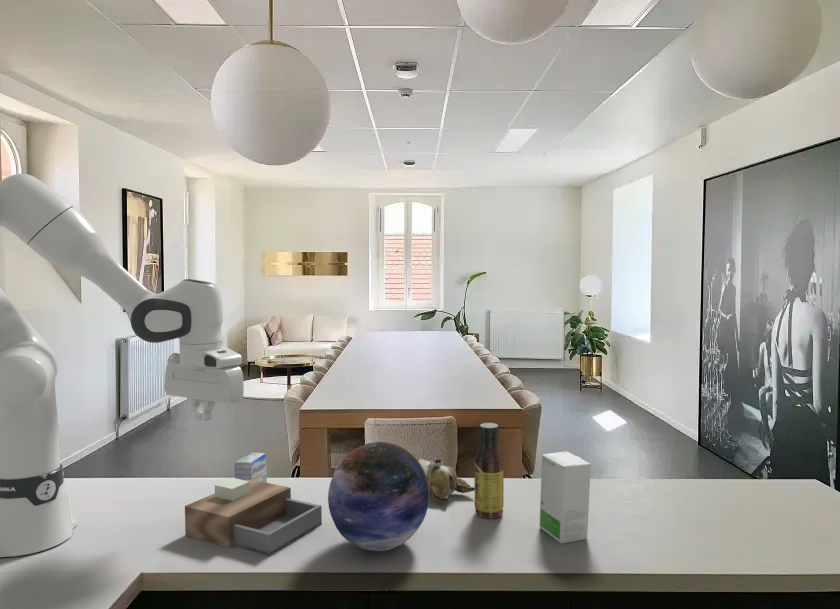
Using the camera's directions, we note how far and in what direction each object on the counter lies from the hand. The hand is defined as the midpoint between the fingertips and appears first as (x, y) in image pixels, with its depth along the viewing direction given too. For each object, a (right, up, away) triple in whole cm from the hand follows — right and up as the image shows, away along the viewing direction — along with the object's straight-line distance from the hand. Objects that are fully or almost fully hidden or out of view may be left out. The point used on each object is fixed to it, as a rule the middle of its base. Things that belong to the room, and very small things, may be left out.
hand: (203, 419), depth 133 cm
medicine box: (+6, -21, +15) cm, 26 cm away
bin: (+18, -22, -8) cm, 29 cm away
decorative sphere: (+39, -22, -14) cm, 46 cm away
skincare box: (+75, -22, -8) cm, 79 cm away
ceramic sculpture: (+51, -21, +14) cm, 57 cm away
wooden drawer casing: (+9, -21, -3) cm, 23 cm away
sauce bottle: (+61, -21, +2) cm, 65 cm away
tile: (+7, -15, -3) cm, 17 cm away
